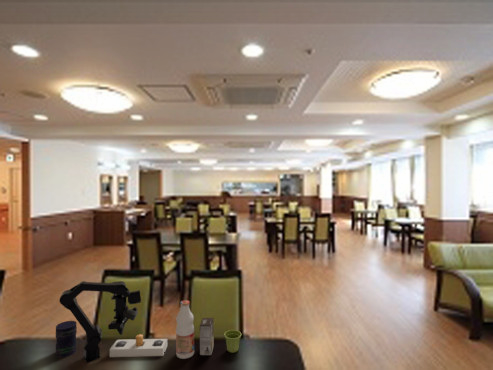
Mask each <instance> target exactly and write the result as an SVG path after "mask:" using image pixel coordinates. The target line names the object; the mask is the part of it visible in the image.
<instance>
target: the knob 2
mask: <svg viewBox="0 0 493 370" xmlns="http://www.w3.org/2000/svg"><path fill="white" fill-rule="evenodd" d="M154 346H162V341H161V340H157V341H155V342H154Z"/></svg>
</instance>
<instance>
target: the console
mask: <svg viewBox="0 0 493 370" xmlns="http://www.w3.org/2000/svg"><path fill="white" fill-rule="evenodd" d="M157 340H161V341H162V346H154V342H155V341H157ZM120 341H125V346H124V347H117V343H118V342H120ZM167 348H168V338H143V345H142V346H136V338H135V339H133V338H132V339H131V338H130V339H116V341H115V342H114V343H113V344H112V345H111V347H110V348H109V358H122V357H123V358H128V357H129V358H131V357H134V358H135V357H137V358H138V357H164V355H165V353H166V350H167ZM164 352H165V353H164Z"/></svg>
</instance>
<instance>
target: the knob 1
mask: <svg viewBox="0 0 493 370" xmlns="http://www.w3.org/2000/svg"><path fill="white" fill-rule="evenodd" d="M124 346H125V341H120V342H118V343H117V347H124Z"/></svg>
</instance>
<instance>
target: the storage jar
mask: <svg viewBox="0 0 493 370" xmlns="http://www.w3.org/2000/svg"><path fill="white" fill-rule="evenodd" d="M77 328H78V327H77V321H75V320H66V321H62V322H60V323H58V324H57V325H55V340H56V342H55V343H56V344H55V356H56V357H58V358H66V357H70V356H72V355H74V354H75V353H76V352H77V350H78V349H77V346H78V341H77V340H78V339H77V332H78V331H77Z"/></svg>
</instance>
